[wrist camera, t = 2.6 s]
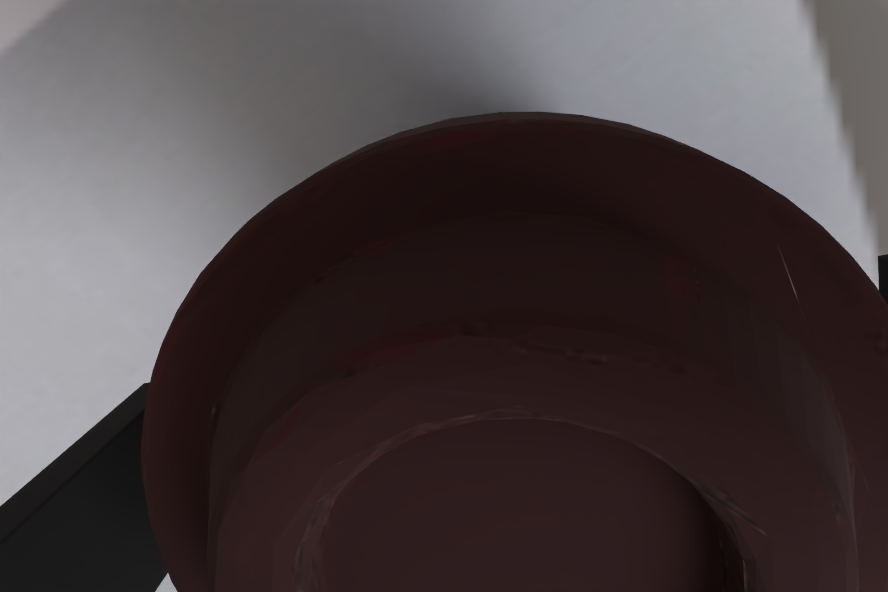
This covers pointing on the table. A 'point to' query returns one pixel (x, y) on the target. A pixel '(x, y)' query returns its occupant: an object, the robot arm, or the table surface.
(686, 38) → the table surface
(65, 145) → the table surface
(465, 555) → the coffee cup
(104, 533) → the robot arm
